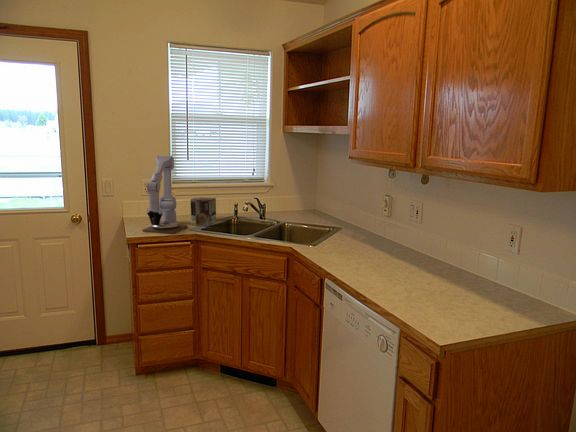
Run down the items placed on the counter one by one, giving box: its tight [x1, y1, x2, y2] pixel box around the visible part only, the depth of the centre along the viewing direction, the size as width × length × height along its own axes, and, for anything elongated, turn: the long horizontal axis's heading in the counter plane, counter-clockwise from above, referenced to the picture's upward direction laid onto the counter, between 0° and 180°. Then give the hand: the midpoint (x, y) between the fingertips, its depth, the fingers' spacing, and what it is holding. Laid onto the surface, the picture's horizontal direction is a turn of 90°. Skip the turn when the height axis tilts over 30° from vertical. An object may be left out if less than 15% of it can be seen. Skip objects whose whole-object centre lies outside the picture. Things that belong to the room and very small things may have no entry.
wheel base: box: [142, 224, 188, 235], centre depth 277 cm, size 19×20×2 cm
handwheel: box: [150, 217, 181, 229], centre depth 276 cm, size 17×17×6 cm
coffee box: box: [195, 200, 213, 227], centre depth 290 cm, size 9×6×16 cm
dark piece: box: [190, 196, 217, 222], centre depth 309 cm, size 15×10×15 cm, turn 82°
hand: (155, 224), depth 271 cm, fingers open, 4 cm apart
